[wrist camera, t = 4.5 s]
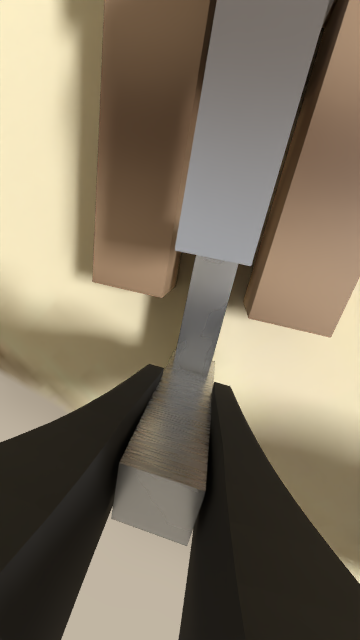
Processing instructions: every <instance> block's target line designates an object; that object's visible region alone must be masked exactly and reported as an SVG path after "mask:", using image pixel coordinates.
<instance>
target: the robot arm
mask: <svg viewBox="0 0 360 640" xmlns="http://www.w3.org/2000/svg"><path fill="white" fill-rule="evenodd" d="M163 371H164V368H161V367H158V366H154V365H151V364H149V365H147V366H145V367H144V368H143V369H141V370H140V371H138V372H137V373H136V374H134V375H133V376H131V377H130V378H129V379H127V380H126V381H124V382H123V383H121V384H120V385H118V386H116V387H115V388H113V389H112V390H110V391H109V392H107V393H105V394H104V395H102V396H100V397H99V398H97V399H95V400H93V401H92V402H90V403H88V404H86V405H85V406H83V407H81V408H79V409H77V410H75V411H73V412H71V413H69V414H67V415H65V416H63V417H61V418H59V419H57V420H55V421H52V422H51V423H48V424H45V425H43V426H41V427H38V428H36V429H33V430H31V431H28V432H26V433H23V434H21V435H18V436H16V437H14V438H11V439H8V440H6V441H3V442H0V640H61V638H62V636H63V633H64V630H65V628H66V625H67V622H68V620H69V617H70V615H71V612H72V609H73V607H74V604H75V601H76V599H77V596H78V593H79V590H80V588H81V585H82V583H83V580H84V578H85V575H86V573H87V570H88V567H89V565H90V562H91V559H92V557H93V554H94V551H95V549H96V547H97V544H98V542H99V539H100V536H101V534H102V531H103V529H104V526H105V524H106V521H107V519H108V516H109V514H110V511H111V508H112V506H113V503H114V496H115V489H116V482H117V475H118V468H119V462H120V460H121V458H122V456H123V454H124V452H125V450H126V448H127V446H128V444H129V442H130V440H131V438H132V436H133V434H134V432H135V430H136V427H137V425H138V423H139V421H140V419H141V417H142V415H143V413H144V411H145V409H146V407H147V405H148V403H149V401H150V399H151V397H152V395H153V393H154V392H155V390H156V388H157V386H158V384H159V382H160V380H161V377H162V375H163ZM179 640H360V584H359V583H358V581H357V580H356V579H355V578H354V576H353V575H352V574H351V573H350V571H349V570H348V569H347V568H346V567H345V565H344V564H343V563H342V562H341V560H340V559H339V558H338V557H337V555H336V554H335V553H334V552H333V550H332V549H331V548H330V546H329V545H328V544H327V543H326V541H325V540H324V539H323V537H322V536H321V535H320V533H319V532H318V531H317V530H316V528H315V527H314V526H313V524H312V523H311V522H310V521H309V519H308V518H307V517H306V515H305V514H304V512H303V511H302V510H301V508H300V507H299V506H298V504H297V503H296V501H295V500H294V499H293V497H292V496H291V494H290V493H289V491H288V490H287V488H286V487H285V485H284V484H283V483H282V481H281V480H280V478H279V477H278V475H277V474H276V472H275V470H274V469H273V467H272V466H271V464H270V462H269V461H268V459H267V457H266V456H265V454H264V452H263V451H262V449H261V447H260V445H259V444H258V442H257V440H256V438H255V436H254V435H253V433H252V431H251V429H250V427H249V425H248V423H247V421H246V419H245V417H244V415H243V413H242V411H241V409H240V407H239V405H238V402H237V400H236V398H235V396H234V393H233V391H232V389H231V387H230V386H227V385H223V384H220V383H216V382H214V384H213V388H212V398H211V422H210V436H209V450H208V464H207V478H206V492H205V495H204V497H203V500H202V503H201V506H200V509H199V512H198V515H197V518H196V521H195V524H194V527H193V537H192V545H191V552H190V560H189V568H188V576H187V583H186V590H185V597H184V605H183V612H182V619H181V627H180V634H179Z"/></svg>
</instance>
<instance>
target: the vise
mask: <svg viewBox="0 0 360 640" xmlns="http://www.w3.org/2000/svg"><path fill="white" fill-rule="evenodd" d="M321 28H325V30H324V33H323V36H322V40H321V43H320V46H319V50H318V53H317V56H316V60H315V63H314V66H313V70H312V73H311V76H310V80H309V83H308V86H307V90H306V93H305V96H304V100H303V103H302V106H301V110H300V113H299V117H298V120H297V123H296V127H295V130H294V133H293V137H292V140H291V143H290V147H289V150H288V153H287V157H286V160H285V163H284V167H283V170H282V173H281V177H280V180H279V183H278V187H277V190H276V193H275V197H274V200H273V203H272V207H271V210H270V214H269V217H268V220H267V224H266V227H265V230H264V234H263V237H262V240H261V244H260V247H259V250H258V254H257V257H256V260H255V264H254V267H253V270H252V274H251V277H250V280H249V284H248V287H247V290H246V294H245V297H244V301H243V303H244V306H245V309H246V312H247V315H248V318H249V319H254V320H258V321H262V322H267V323H271V324H275V325H279V326H284V327H288V328H292V329H296V330H301V331H305V332H309V333H314V334H318V335H322V336H326V337H331V336H332V334H333V332H334V330H335V328H336V325H337V323H338V321H339V319H340V317H341V315H342V313H343V311H344V309H345V307H346V304H347V302H348V300H349V298H350V296H351V294H352V292H353V290H354V288H355V286H356V283H357V281H358V279H359V277H360V0H105V2H104V25H103V48H102V71H101V94H100V118H99V141H98V164H97V187H96V210H95V233H94V257H93V280H92V282H96V283H100V284H104V285H108V286H113V287H117V288H121V289H125V290H130V291H134V292H138V293H143V294H147V295H151V296H155V297H160V298H163V297H164V296H165V295H166V294H167V293H168V292H170V291H171V290H172V289H173V288H174V287H175V286H176V280H177V274H178V269H179V263H180V258H181V252H185V253H190V254H194V255H199V256H204V257H209V258H214V259H218V260H223V261H228V262H233V263H238V264H243V265H247V266H251V265H252V261H253V258H254V255H255V251H256V248H257V244H258V241H259V238H260V234H261V231H262V228H263V224H264V221H265V217H266V214H267V211H268V207H269V204H270V200H271V197H272V194H273V190H274V187H275V183H276V180H277V177H278V173H279V170H280V166H281V163H282V160H283V156H284V153H285V149H286V146H287V143H288V139H289V136H290V133H291V129H292V126H293V122H294V119H295V116H296V112H297V109H298V105H299V102H300V99H301V95H302V92H303V88H304V85H305V82H306V78H307V75H308V71H309V68H310V65H311V61H312V58H313V54H314V51H315V48H316V44H317V41H318V37H319V34H320V31H321Z"/></svg>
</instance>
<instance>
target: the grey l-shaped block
mask: <svg viewBox="0 0 360 640" xmlns="http://www.w3.org/2000/svg"><path fill="white" fill-rule="evenodd" d="M237 268H238V263H233V262H228V261H223V260H218V259H214V258H209V257H204V256H199V255H196V258H195V263H194V268H193V272H192V277H191V282H190V287H189V291H188V296H187V301H186V306H185V310H184V315H183V320H182V325H181V329H180V334H179V339H178V344H177V348H176V351H173V354H172V356H171V358H170V360H169V362H168V364H167V366H166V368H165V370H164V372H163V375H162V377H161V380H160V382H159V384H158V386H157V388H156V390H155V392H154V393H153V395H152V397H151V399H150V401H149V403H148V405H147V407H146V409H145V411H144V413H143V415H142V417H141V419H140V421H139V423H138V425H137V427H136V430H135V432H134V434H133V436H132V438H131V440H130V442H129V444H128V446H127V448H126V450H125V452H124V454H123V456H122V458H121V460H120V462H119V468H118V475H117V482H116V489H115V496H114V503H113V510H112V519H114V520H116V521H119V522H122V523H125V524H128V525H130V526H133V527H136V528H139V529H141V530H144V531H147V532H149V533H153V534H155V535H158V536H161V537H163V538H166V539H169V540H172V541H174V542H177V543H180V544H182V545H185V546H187V544H188V542H189V538H190V536H191V533H192V530H193V527H194V524H195V521H196V518H197V515H198V512H199V509H200V506H201V503H202V500H203V497H204V495H205V492H206V478H207V464H208V450H209V436H210V422H211V398H212V388H213V380H214V366H215V361H212V358H213V355H214V351H215V348H216V344H217V340H218V337H219V333H220V329H221V326H222V322H223V318H224V315H225V311H226V308H227V304H228V300H229V297H230V293H231V289H232V286H233V282H234V278H235V275H236V271H237Z"/></svg>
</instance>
